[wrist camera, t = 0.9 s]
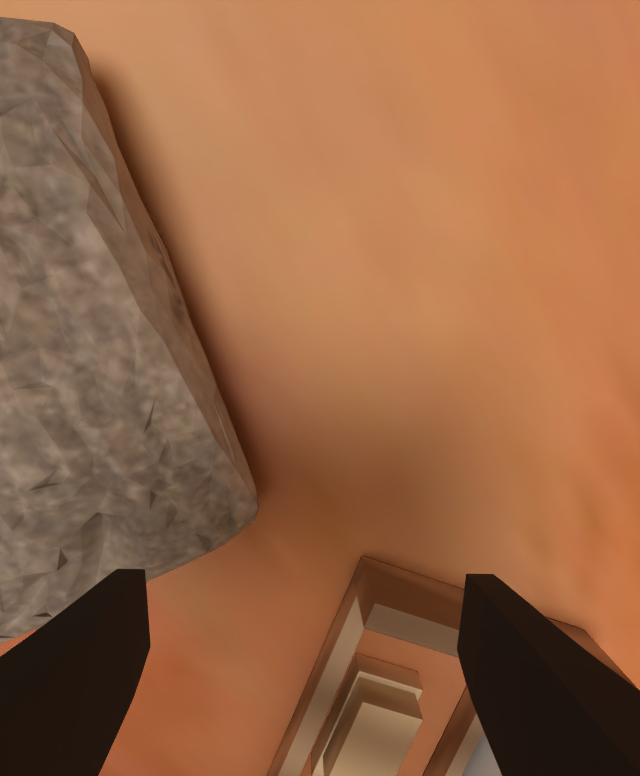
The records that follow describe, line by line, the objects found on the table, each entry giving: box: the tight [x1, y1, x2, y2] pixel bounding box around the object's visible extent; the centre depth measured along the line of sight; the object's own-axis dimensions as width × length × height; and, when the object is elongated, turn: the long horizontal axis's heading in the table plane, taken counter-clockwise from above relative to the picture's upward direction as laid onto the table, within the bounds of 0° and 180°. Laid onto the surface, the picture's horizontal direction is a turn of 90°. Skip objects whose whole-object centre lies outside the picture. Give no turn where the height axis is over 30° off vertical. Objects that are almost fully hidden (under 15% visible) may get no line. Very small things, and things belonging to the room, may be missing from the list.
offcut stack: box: [311, 653, 423, 776], centre depth 21 cm, size 6×3×3 cm, turn 159°
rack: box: [267, 556, 636, 776], centre depth 21 cm, size 15×12×4 cm
